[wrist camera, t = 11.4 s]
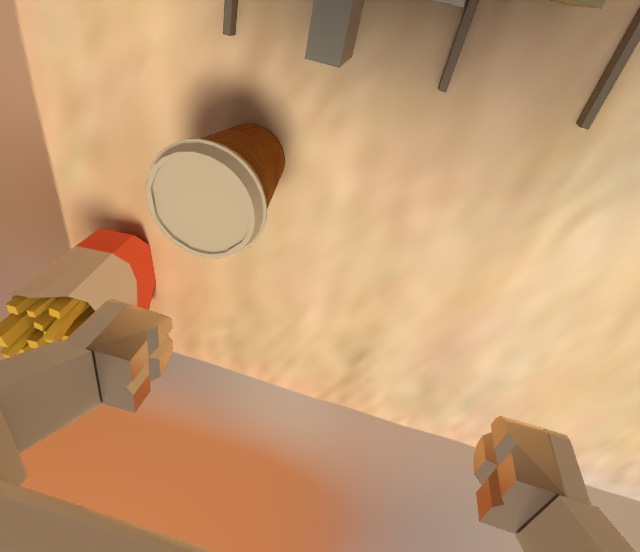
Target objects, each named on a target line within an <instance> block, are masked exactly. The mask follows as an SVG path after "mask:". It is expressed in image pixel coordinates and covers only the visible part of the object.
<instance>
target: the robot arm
mask: <svg viewBox="0 0 640 552" xmlns="http://www.w3.org/2000/svg"><path fill="white" fill-rule="evenodd" d="M171 329H172V318H170V317H168V316H165V315H162V314H159V313H156V312H153V311H150V310H147V309H144V308H141V307H138V306H135V305H132V304H128V303H125V302H122V301H119V300H116V299H110V300H108V301H106V302H105V303H104V304H102V305H101V306H100V307H99V308H98V309H97V310H96V311H95V312H94V313H93V314H92V315H91V316H90V317H89V318H88V319H87V320H86V321H85V322H84V323H83V324H82V325H81V326H80V327H79V328H77V329H76V330H75V331H74V332H73V333H72V334H71V335H70V336H69V337H68V338H67V339H66V340H65V341H64V342H62V341H58V340H57V341H54V342H51V343H48V344H46V345H43V346H40V347H37V348H34V349H31V350H29V351H26V352H23V353H20V354H17V355H15V356H12V357H9V358H6V359H3V360H0V552H219V551H215V550H213V549H210V548H207V547H204V546H201V545H198V544H195V543H191V542H189V541H186V540H183V539H180V538H177V537H173V536H170V535H167V534H164V533H161V532H158V531H155V530H152V529H149V528H146V527H143V526H140V525H137V524H134V523H131V522H128V521H125V520H122V519H119V518H116V517H113V516H110V515H107V514H104V513H101V512H98V511H95V510H92V509H89V508H86V507H83V506H80V505H77V504H74V503H71V502H68V501H65V500H62V499H59V498H56V497H53V496H50V495H46V494H44V493H41V492H38V491H35V490H32V489H28V488H26V487H22V486H21V484H22V483H23V482H24V481H25V479H26V478H27V470H26V467H25V465H24V463H23V460H22V458H21V455H20V452H22V451H24V450H25V449H27V448H29V447H30V446H32V445H34V444H35V443H37V442H39V441H41V440H42V439H44V438H46V437H47V436H49V435H51V434H53V433H54V432H56V431H58V430H59V429H61V428H63V427H65V426H66V425H68V424H70V423H71V422H73V421H75V420H76V419H78V418H80V417H82V416H83V415H85V414H87V413H88V412H90V411H92V410H93V409H95V408H97V407H98V406H100V405H101V403H103V404H106V405H110V406H113V407H117V408H121V409H124V410H127V411H131V412H134V413H135V412H136V411H137V409H138V408H139V406H140V405H141V404H142V402H143V401H144V399H145V398H146V396H147V395H148V394H149V392H150V381H152V380H155V379H156V378H159V377H160V376H161V375H162V373H163V372H164V370H165V369H166V367H167V365H168V362H169V360H170V358H171V353H172V349H173V341H172V340H171V338H170V337H169V335H168V334H169V332H170V331H171ZM491 429H492V432H491V433H489V434H486V435H483V436H482V437H481V439H480V440H479V442H478V444H477V446H476V450H475V454H474V474H475V476H476V477H477V479H478V480H479V482H480V483H481V485H482V486H481V487H480V488H479V490H478V491H477V492H476V496H477V504H478V514H479V521H480V522H483V523H486V524H488V525H491V526H494V527H497V528H500V529H503V530H506V531H509V532H512V533H514V534H517V535H516V538H517V540H518V541H519V543H520V545H521V547H522V549H523V550H524V552H636V551H635V550H634V549H633V548H632V547H631V546H630V544H629V543H628V542H627V541H626V540H625V538H624V537H623V536H622V535H621V534H620V532H619V531H618V530H617V529H616V528H615V527H614V525H613V524H612V523H611V522H610V521H609V520H608V518H607V517H606V516H605V515H604V514H603V512H602V511H601V510H600V509H599V508H598V507H596V506H593V505H591V502H590V499H589V496H588V493H587V490H586V487H585V484H584V481H583V478H582V475H581V472H580V469H579V466H578V463H577V459H576V456H575V453H574V450H573V447H572V444H571V441H570V439H569V438H568V437H567V436H566V435H564V434H561V433H557V432H554V431H551V430H547V429H542V428H541V427H537V426H534V425H531V424H527V423H524V422H520V421H517V420H513V419H510V418H506V417H503V416H499V417H497V418H496V419H495V420H494V421H493V423H492V424H491Z"/></svg>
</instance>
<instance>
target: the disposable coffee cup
mask: <svg viewBox="0 0 640 552" xmlns="http://www.w3.org/2000/svg"><path fill="white" fill-rule="evenodd" d="M284 165H285V157H284V152H283V149H282V146H281V144H280V143H279V141H278V140H277V138H276V137H275V136H274V135H273V134H272V133H271V132H270V131H269V130H267V129H265V128H264V127H261V126H258V125H254V124H243V125H239V126H237V127H234V128H231V129H228V130H225V131H222V132H219V133H216V134H213V135H210V136H207V137H204V138H201V139H196V138H191V139H184V140H180V141H177V142H174V143H172V144H170V145H169V146H167V147H165V148H164V149H163V150H162V151H161V152H160V153H159V154H158V155H157V156H156V158H155V160H154V162H153V164H152V166H151V169H150V173H149V175H148V179H147V183H146V200H147V204H148V208H149V211H150V213H151V215H152V217H153V219H154V221H155V223H156V224H157V226H158V227H159V228H160V230H161V231H162V232H163V233H164V235H165V236H166V237H167V238H169V239H170V240H171V241H172V242H173V243H174V244H176V245H177V246H179V247H180V248H182V249H183V250H185V251H187V252H190V253H192V254H194V255H197V256H201V257H205V258H223V257H227V256H230V255H233V254H237V253H239V252H242V251H244V250H246V249H247V248H249V247H251V246H252V245H253V244H254V243H255V242H256V241H257V239H258V238H259V237H260V235H261V233H262V231H263V229H264V226H265V222H266V219H267V208H268V205H269V203H270V201H271V198H272V196H273V193H274V191H275V189H276V186H277V184H278V182H279V179H280V177H281V175H282V173H283V170H284Z"/></svg>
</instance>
